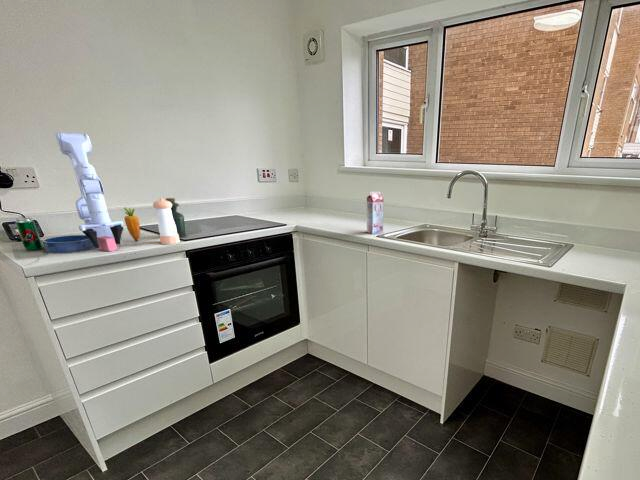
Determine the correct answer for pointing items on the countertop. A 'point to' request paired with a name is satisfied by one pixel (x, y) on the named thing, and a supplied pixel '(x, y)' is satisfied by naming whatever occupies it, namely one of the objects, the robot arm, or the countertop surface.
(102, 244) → the eraser
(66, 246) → the bowl
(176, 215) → the green spray bottle
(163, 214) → the pepper shaker
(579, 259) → the countertop surface
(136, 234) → the carrot
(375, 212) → the juice carton
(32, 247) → the soda can
